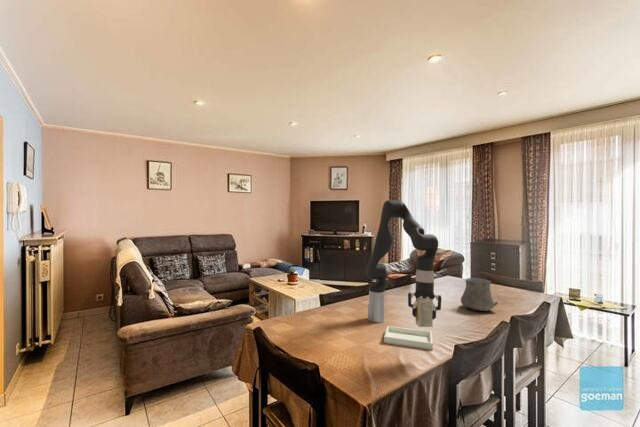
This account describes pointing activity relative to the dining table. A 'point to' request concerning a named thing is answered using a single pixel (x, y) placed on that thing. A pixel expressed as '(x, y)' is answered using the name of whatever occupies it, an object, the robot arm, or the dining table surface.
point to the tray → (409, 337)
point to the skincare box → (424, 313)
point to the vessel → (478, 295)
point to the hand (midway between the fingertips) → (424, 317)
